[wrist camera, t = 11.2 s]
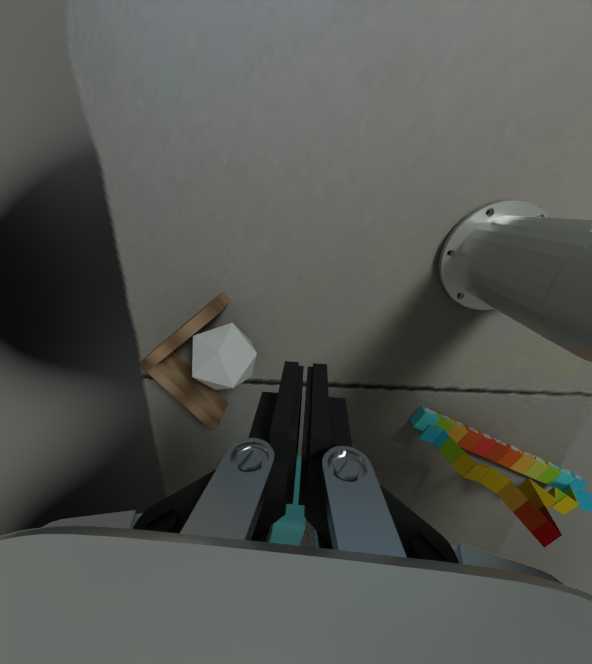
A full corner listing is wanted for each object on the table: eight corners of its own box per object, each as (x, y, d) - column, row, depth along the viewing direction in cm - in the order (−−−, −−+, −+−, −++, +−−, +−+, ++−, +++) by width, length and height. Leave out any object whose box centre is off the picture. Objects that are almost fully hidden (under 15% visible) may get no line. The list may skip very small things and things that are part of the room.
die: (196, 356, 44) (209, 414, 38) (174, 320, 37) (187, 383, 31) (249, 338, 45) (269, 391, 40) (237, 300, 38) (259, 357, 33)
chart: (578, 473, 48) (684, 581, 34) (563, 485, 49) (660, 593, 36) (421, 403, 44) (470, 493, 31) (409, 418, 45) (450, 510, 32)
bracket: (230, 293, 39) (219, 305, 34) (227, 408, 46) (218, 431, 42) (150, 283, 39) (129, 293, 34) (161, 400, 46) (145, 421, 42)
